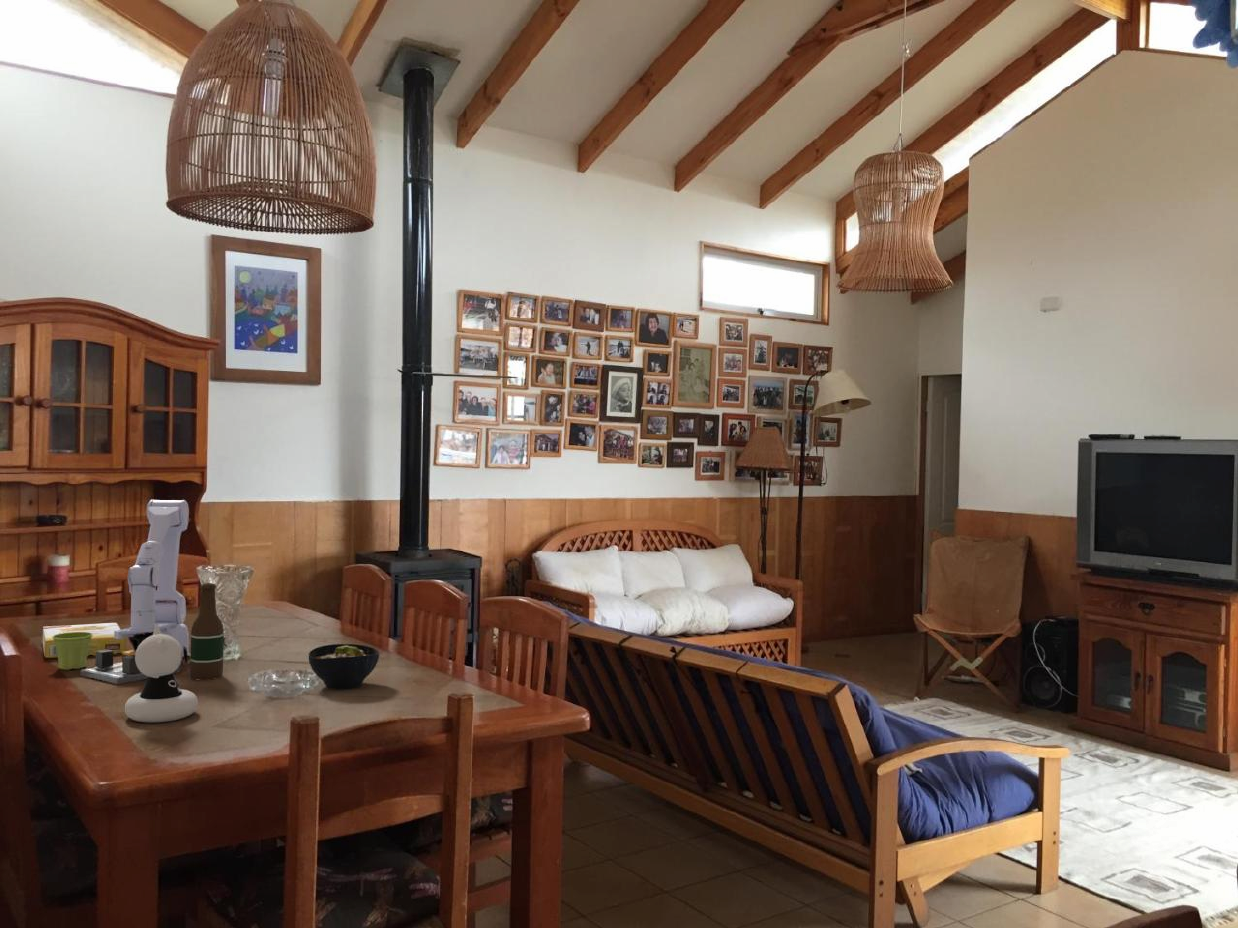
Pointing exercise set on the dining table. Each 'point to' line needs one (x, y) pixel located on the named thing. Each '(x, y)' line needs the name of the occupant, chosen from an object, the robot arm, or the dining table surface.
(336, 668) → the bowl
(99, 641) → the cereal box
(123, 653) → the block
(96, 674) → the panel
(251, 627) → the dining table surface
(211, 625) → the beer bottle
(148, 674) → the decorative figurine
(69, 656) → the plant pot
